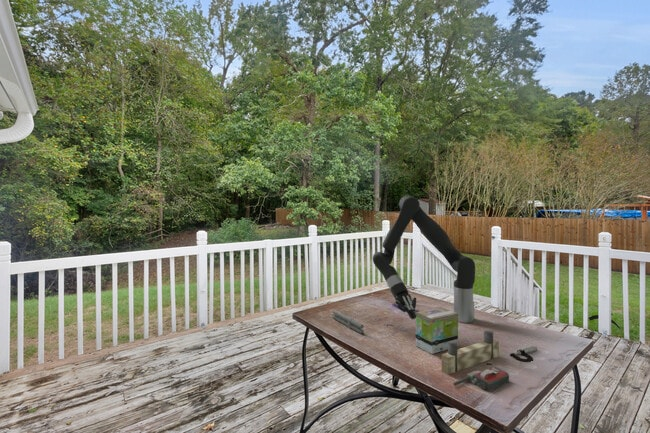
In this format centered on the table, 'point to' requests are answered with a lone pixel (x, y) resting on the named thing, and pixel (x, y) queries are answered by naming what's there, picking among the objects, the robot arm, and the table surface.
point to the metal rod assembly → (348, 321)
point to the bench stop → (469, 354)
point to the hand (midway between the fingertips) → (414, 318)
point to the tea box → (436, 329)
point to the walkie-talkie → (487, 378)
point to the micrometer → (524, 354)
